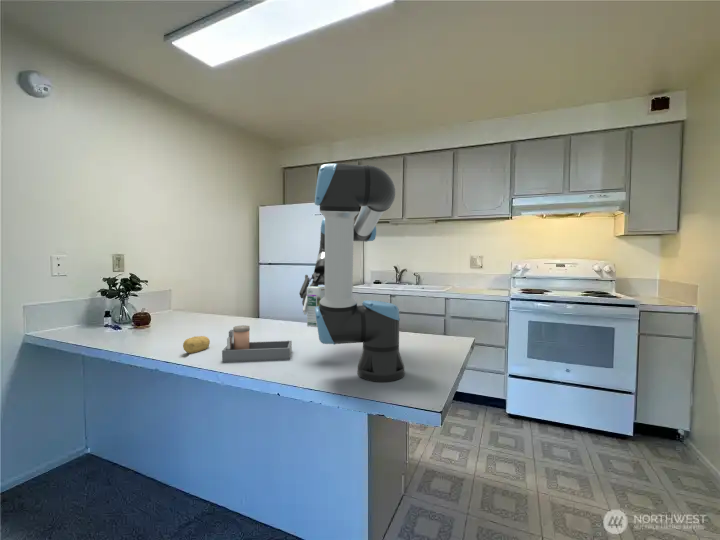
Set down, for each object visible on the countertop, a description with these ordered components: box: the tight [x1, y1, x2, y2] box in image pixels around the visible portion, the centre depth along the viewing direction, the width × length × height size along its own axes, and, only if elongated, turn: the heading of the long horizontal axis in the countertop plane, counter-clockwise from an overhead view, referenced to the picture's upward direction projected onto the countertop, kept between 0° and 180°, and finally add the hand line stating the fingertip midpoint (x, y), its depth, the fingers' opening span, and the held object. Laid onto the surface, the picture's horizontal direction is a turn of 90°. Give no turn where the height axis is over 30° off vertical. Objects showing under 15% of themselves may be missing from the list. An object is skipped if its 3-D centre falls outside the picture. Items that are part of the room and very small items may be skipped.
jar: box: [232, 325, 251, 350], centre depth 123 cm, size 6×6×11 cm
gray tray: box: [221, 340, 293, 363], centre depth 124 cm, size 23×11×5 cm, turn 98°
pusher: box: [226, 329, 234, 350], centre depth 123 cm, size 1×8×9 cm, turn 7°
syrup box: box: [306, 285, 325, 328], centre depth 124 cm, size 6×6×14 cm
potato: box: [182, 335, 211, 354], centre depth 133 cm, size 7×11×6 cm, turn 155°
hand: (314, 312), depth 121 cm, fingers closed on syrup box, 7 cm apart
